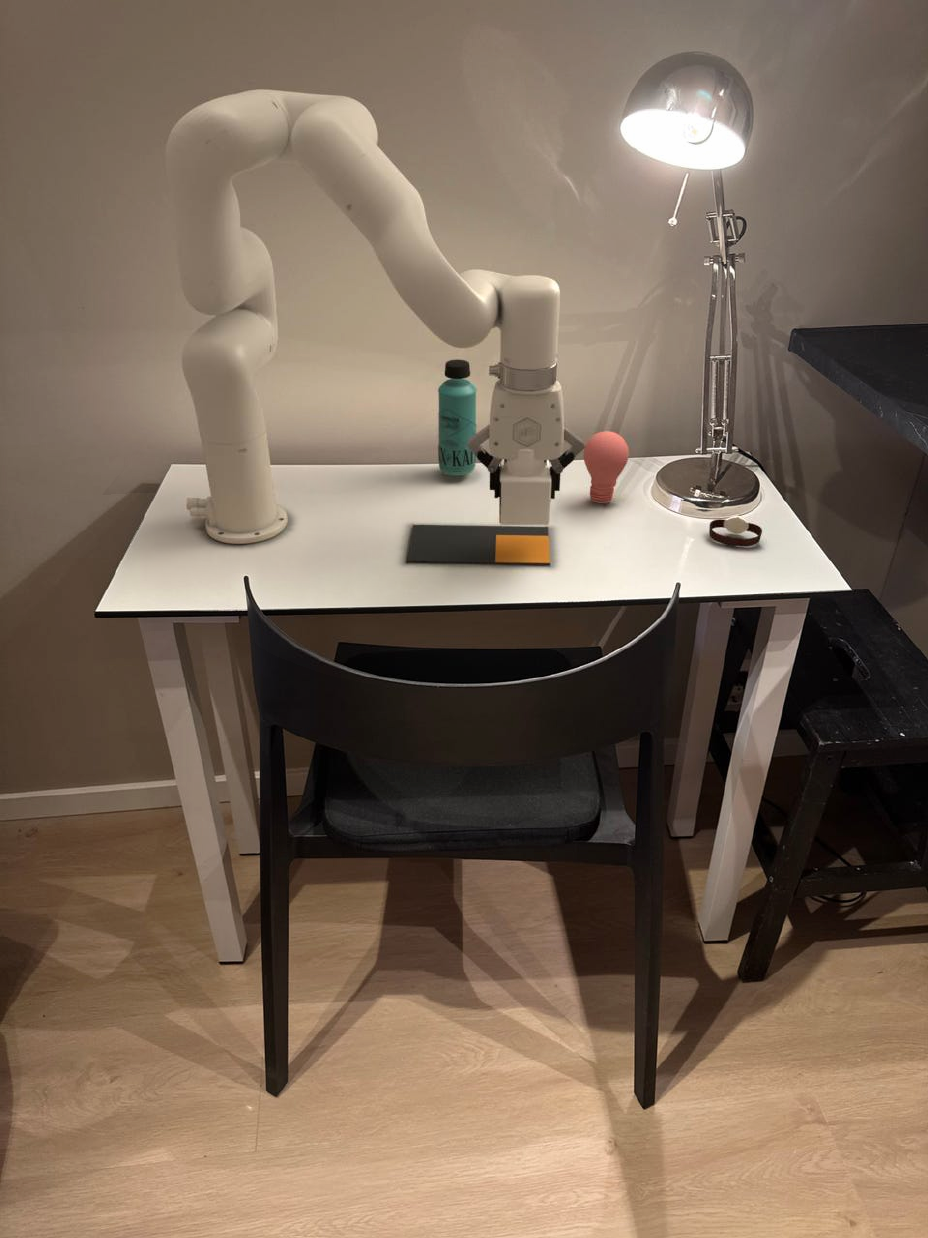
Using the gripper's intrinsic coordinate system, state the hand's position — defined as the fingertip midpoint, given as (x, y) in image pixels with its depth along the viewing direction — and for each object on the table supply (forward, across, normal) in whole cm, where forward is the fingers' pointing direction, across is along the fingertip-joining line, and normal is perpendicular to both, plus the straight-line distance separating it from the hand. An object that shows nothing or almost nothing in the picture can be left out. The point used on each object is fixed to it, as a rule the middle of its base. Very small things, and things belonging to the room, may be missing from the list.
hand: (524, 493), depth 137 cm
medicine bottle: (+4, 0, 0) cm, 4 cm away
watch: (+10, +32, +4) cm, 34 cm away
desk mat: (+10, -6, +2) cm, 12 cm away
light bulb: (+10, +13, +16) cm, 23 cm away
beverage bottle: (+10, -11, +26) cm, 29 cm away
